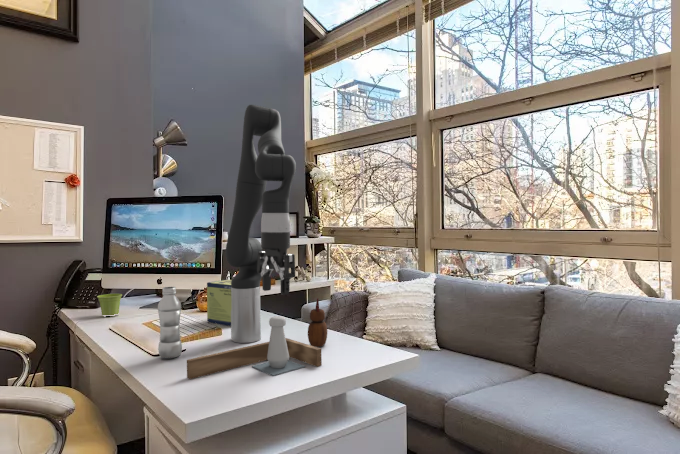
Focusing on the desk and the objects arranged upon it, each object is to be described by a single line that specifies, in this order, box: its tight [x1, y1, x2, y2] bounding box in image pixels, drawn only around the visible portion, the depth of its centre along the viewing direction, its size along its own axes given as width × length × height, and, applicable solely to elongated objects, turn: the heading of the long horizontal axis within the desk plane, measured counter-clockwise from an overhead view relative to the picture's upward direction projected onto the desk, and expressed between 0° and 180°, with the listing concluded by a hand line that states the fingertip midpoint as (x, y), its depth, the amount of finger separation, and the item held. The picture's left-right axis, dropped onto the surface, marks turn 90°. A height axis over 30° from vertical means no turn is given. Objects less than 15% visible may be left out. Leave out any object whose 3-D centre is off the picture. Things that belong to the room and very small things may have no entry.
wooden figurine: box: [307, 298, 328, 348], centre depth 142 cm, size 7×6×15 cm
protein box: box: [206, 279, 232, 327], centre depth 178 cm, size 10×16×16 cm
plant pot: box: [96, 293, 123, 316], centre depth 192 cm, size 9×9×9 cm
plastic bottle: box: [157, 286, 183, 359], centre depth 131 cm, size 6×7×20 cm
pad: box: [251, 359, 306, 377], centre depth 121 cm, size 10×10×1 cm
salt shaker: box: [266, 315, 290, 369], centre depth 121 cm, size 6×6×13 cm
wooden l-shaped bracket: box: [186, 337, 323, 380], centre depth 118 cm, size 16×30×4 cm, turn 132°
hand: (275, 292), depth 121 cm, fingers open, 8 cm apart
